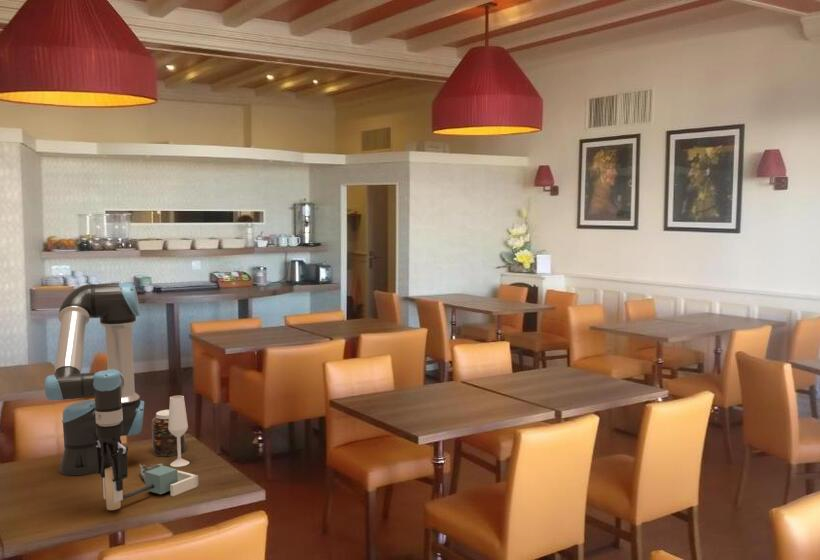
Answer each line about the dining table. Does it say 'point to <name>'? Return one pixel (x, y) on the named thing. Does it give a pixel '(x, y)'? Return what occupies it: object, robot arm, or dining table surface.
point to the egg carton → (147, 469)
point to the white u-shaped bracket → (184, 483)
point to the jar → (164, 436)
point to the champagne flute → (178, 425)
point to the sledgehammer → (155, 482)
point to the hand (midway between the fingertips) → (113, 499)
